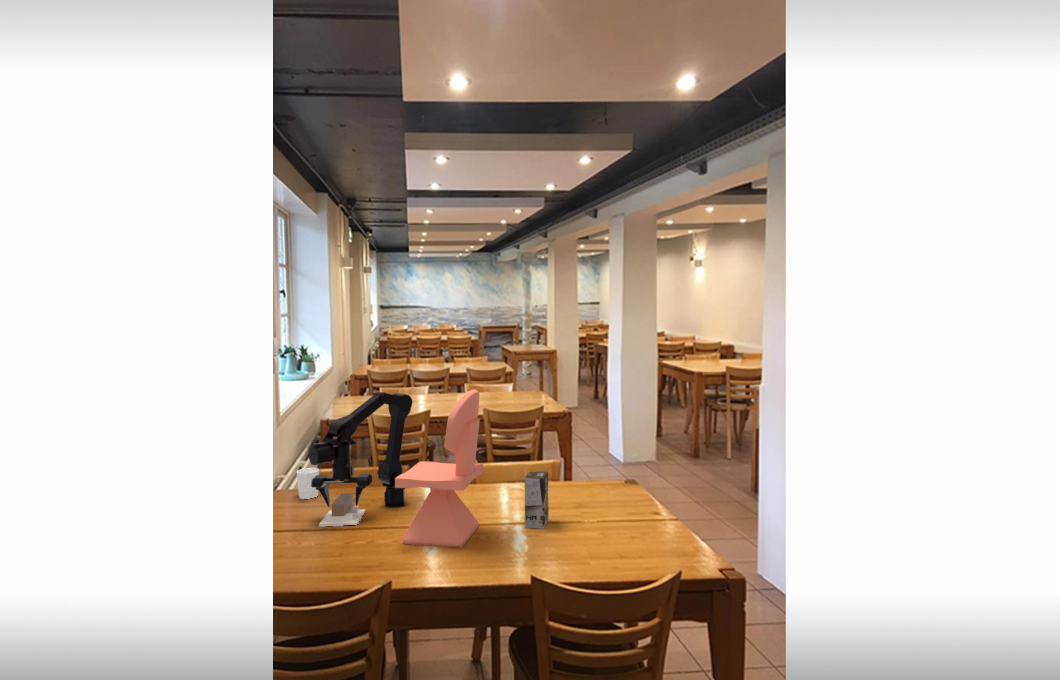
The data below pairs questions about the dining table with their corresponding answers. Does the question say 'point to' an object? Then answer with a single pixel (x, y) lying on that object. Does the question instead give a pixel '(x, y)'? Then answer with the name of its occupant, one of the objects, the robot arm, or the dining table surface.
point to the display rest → (343, 518)
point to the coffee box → (536, 500)
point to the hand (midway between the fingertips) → (342, 505)
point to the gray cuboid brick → (342, 504)
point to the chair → (447, 482)
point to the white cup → (306, 483)
